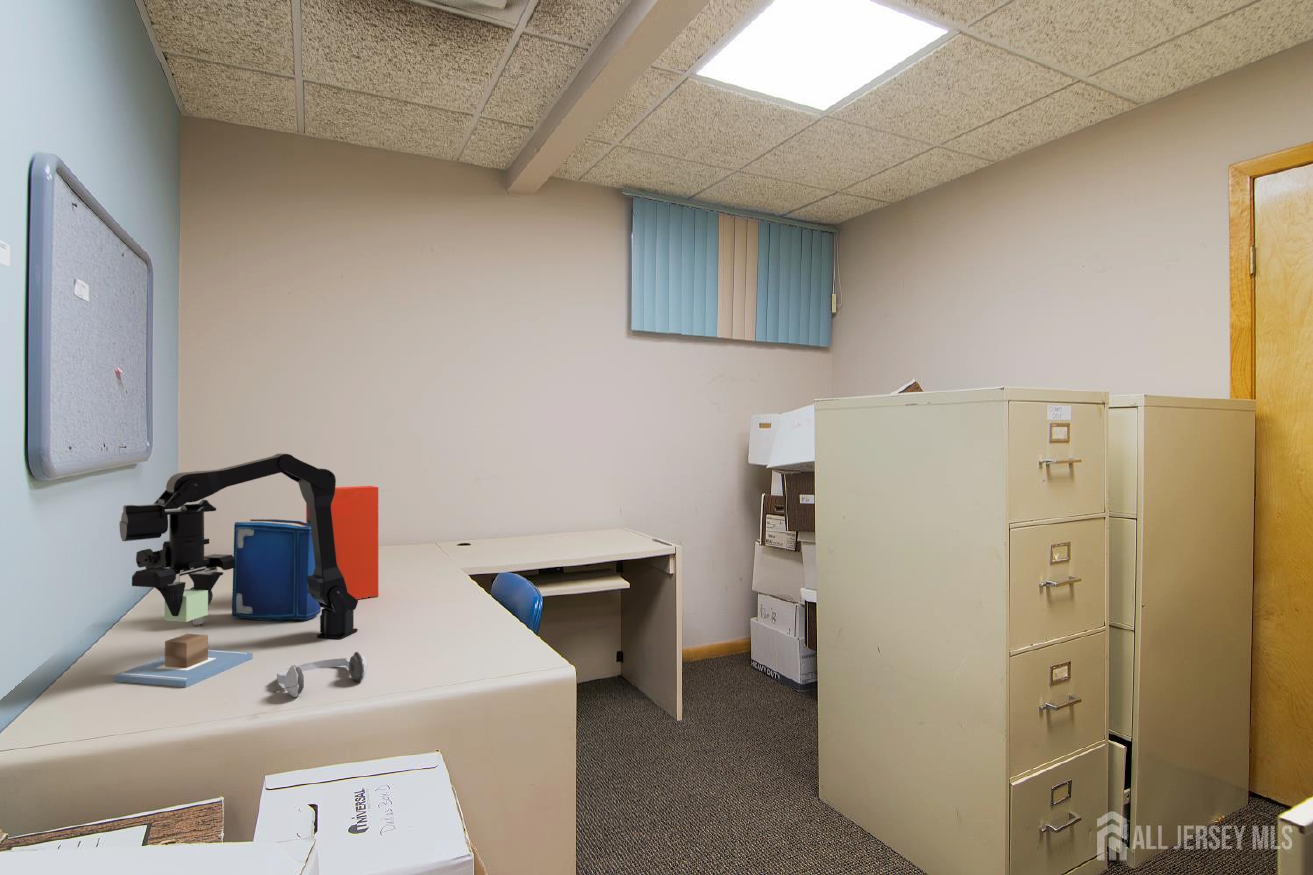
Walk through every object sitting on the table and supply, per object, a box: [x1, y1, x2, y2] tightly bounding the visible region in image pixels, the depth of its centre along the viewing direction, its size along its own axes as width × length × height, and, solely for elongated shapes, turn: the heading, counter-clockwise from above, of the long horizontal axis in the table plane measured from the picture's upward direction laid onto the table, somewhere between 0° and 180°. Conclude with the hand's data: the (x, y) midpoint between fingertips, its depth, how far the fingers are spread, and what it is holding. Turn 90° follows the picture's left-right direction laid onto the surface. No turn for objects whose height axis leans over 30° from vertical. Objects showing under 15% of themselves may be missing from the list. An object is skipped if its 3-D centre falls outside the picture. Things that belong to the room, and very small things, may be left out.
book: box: [231, 518, 322, 622], centre depth 169 cm, size 22×7×25 cm, turn 84°
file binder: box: [305, 485, 379, 600], centre depth 188 cm, size 8×17×32 cm, turn 131°
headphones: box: [272, 651, 369, 698], centre depth 124 cm, size 17×6×20 cm
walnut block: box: [164, 633, 209, 668], centre depth 132 cm, size 5×5×5 cm
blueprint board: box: [113, 649, 254, 688], centre depth 132 cm, size 16×16×1 cm
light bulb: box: [189, 586, 214, 627], centre depth 161 cm, size 6×6×10 cm
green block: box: [164, 588, 209, 622], centre depth 132 cm, size 5×5×5 cm
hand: (187, 612), depth 132 cm, fingers closed on green block, 5 cm apart
